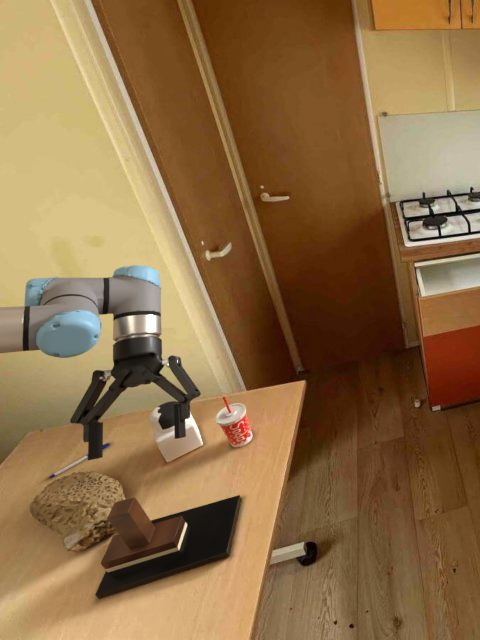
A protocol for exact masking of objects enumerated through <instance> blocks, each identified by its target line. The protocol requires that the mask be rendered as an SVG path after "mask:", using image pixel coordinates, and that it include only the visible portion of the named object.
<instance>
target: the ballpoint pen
mask: <svg viewBox="0 0 480 640" xmlns="http://www.w3.org/2000/svg"><path fill="white" fill-rule="evenodd" d="M110 445H111V444H110V443H109V442H106V443H103V450H104V449H106V448H108V447H109V446H110ZM86 459H88V454H86V455H85V456H83V457H81V458H79V459H77V460H76V461H74V462H72V463H70V464H68V465H67V466H65V467H63V468H61V469H60V470H58V471H55V472H54V473H53V474H51V475H50V476H49V479H52V478H54V477H56V476H58V475H60V474H62V473H63V472H65V471H67V470H69V469H71V468H72V467H74V466H76V465H78V464H80V463H81V462H83V461H85V460H86Z"/></svg>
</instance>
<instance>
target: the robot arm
mask: <svg viewBox="0 0 480 640" xmlns="http://www.w3.org/2000/svg"><path fill="white" fill-rule="evenodd" d="M112 274H113V275H112V276H108V277H59V276H53V277H39V278H38V277H36V278H31V279H29V280H27V282H26V283H25V288H24V289H25V290H24V306H23V305H21V306H0V354H8V353H16V352H17V353H19V352H31V351H32V352H33V351H41V352H42V353H43V354H45V355H47V356H49V357H53V358H58V359H66V358H68V359H69V358H74V357H77V356H80V355H83V354H85V353H87V352H89V351H90V350H92V349H93V348H94V347H95V346H96V345H97V343H98V342H99V339H100V336H101V330H102V321H101V319H100V315H101V316H102V315H112V316H113V317H112V318H113V319H112V322H113V323H112V324H113V325H112V340H113V341H114V343H113V344H112V362H113V365H112V366H113V367H112V368H111V369H107V370H101V369H96V370H94V371H93V372H92V375H91V382H90V384H89V385H88V387H87V389H86V391H85V393H84V394H83V396H82V398H81V399H80V401H79V402H78V403H79V404H78V405H77V407H76V409H75V410H74V412H73V414H72V416H71V417H70V419H69V423H70V424H76V425H77V424H78V425H82V427H83V431H82V432H83V433H82V440H83V443H88V444H87V445H88V446H87V455H88V458H87V461H91V460H97V459H101V458H103V455H104V453H103V452H104V449H103V445H104V422H103V421H102V422H100V421H99V420H100V419H101V418H102V417H103V415H105V413H106V412H107V411H108V410H109V409H110V408H111V406H112V405H113V403H114V402H115V401H116V400H117V399H118V398H119V396H121V394H122V393H123V392H125V391H127V390H128V388H130V389H131V388H137V387H139V386H144V385H145V386H146V385H151V383H153V384H155V385H156V386H157V387H159V388H160V389H161V390H163V391H164V393H166V394H168V395H169V396H170V397H172V398H173V399H174V400H175V401H177V402H178V403H180V404H175V405H174V429H175V439H178V438H183V437H186V427H185V419H189V418H190V413H191V402H192V400H194V399H196V398H199V397H200V396H201V394H202V393H201V391H200V390H199V388H198V387H197V385H196V384H195V382H194V380H192V378H191V377H190V375H189V374H188V373H187V371H186V369H185V368H184V367H183V364H182V358H181V356H177V355H169V356H168V357H167V358H164V359H163V340H162V339H161V336H162V286H161V281H160V280H161V279H160V272H159V271H158V270H157V269H156V268H154V267H151V266H147V265H136V264H135V265H134V264H133V265H130V266H128V265H127V266H126V265H125V266H120V267H119V268H116V269H115V270H114V271H113V273H112ZM165 366H166V368H168V369H170V372H171V373H172V374H173V375H174V377H175V378H176V380H177V381H178V382H179V384H180V385H181V387H182V388H183V390H184V391H183V390H181V389H180V388H179V387H178V386H176V385H175V384H174V383H172V382H171V381H170V380H169V379H167V377H166V376H165V375H164V374H162V373H161V371H162V370H163V368H164V367H165ZM111 377H112V378H113V379H114V380H113V382H111V384H110V385H109V386H108V389H107V390H106V392H105V393H104V394H102V392H103V391H104V390H105V387H106V385H107V382H108V381H110V380H111ZM101 394H102V396H101ZM100 396H101V398H100Z"/></svg>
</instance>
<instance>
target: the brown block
mask: <svg viewBox="0 0 480 640" xmlns="http://www.w3.org/2000/svg"><path fill="white" fill-rule="evenodd" d="M107 519H108V521H109V522H110V523H111V525H112V526H113V527H114V529H115V530H116V531H117V532H116V533H117V534H114V535H113V536H112V537H111V539H110V541H109V544H108V546H107V548H106V551H105V553H104V554H103V557H102V559H101V561H100V565H101V566H102V567H103V569H104V570H105V572H106V571H107V572H111V571H115V570H118V569H121V568H124V567H127V566H131V565H134V564H137V563H140V562H143V561H147V560H150V559H153V558H156V557H160V556H163V555H166V554H169V553H172V552H176V551H179V550H180V547H181V544H182V540H183V537H184V534H185V531H186V528H187V523H186V522H185V520H184V518H183V517H182V516H180V517H176V518H173V519H169V520H166V521H163V522H159V523H156V524H153V523H152V522H151V520H152V519H150V518H149V516H148V514H147V513H146V512H145V510H144V508H143V507H142V506H141V504H140V502H139V501H138V500H137V498H136V497H135V496H134V497H129V498H125V500H122V501H118V502H115V503H114V505H113V507H112V509H111V511H110V513H109V515H108V517H107Z"/></svg>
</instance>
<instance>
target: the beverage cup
mask: <svg viewBox="0 0 480 640" xmlns="http://www.w3.org/2000/svg"><path fill="white" fill-rule="evenodd" d="M222 400H223V402H224V404H225V407H223V408H221V409H220V410H219V411H218V412H217V413H216V415H215V417H214V418H215V422H216V424H217V425H218V426H219V427H220V428H221V430H222V432H223V433H224V435H225V437H226V439H227V440H228V443H229V444H230V446H231V447H233V448H241V447H244V446H245V445H247V444H249V443H250V442H251V441H252V439H253V432H252V429H251V425H250V421H249V418H248V415H247V407H246V405H245V404H244V403H239V402H237V403H231V404H229V403H228V401H227V398H226V396H223V397H222Z"/></svg>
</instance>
